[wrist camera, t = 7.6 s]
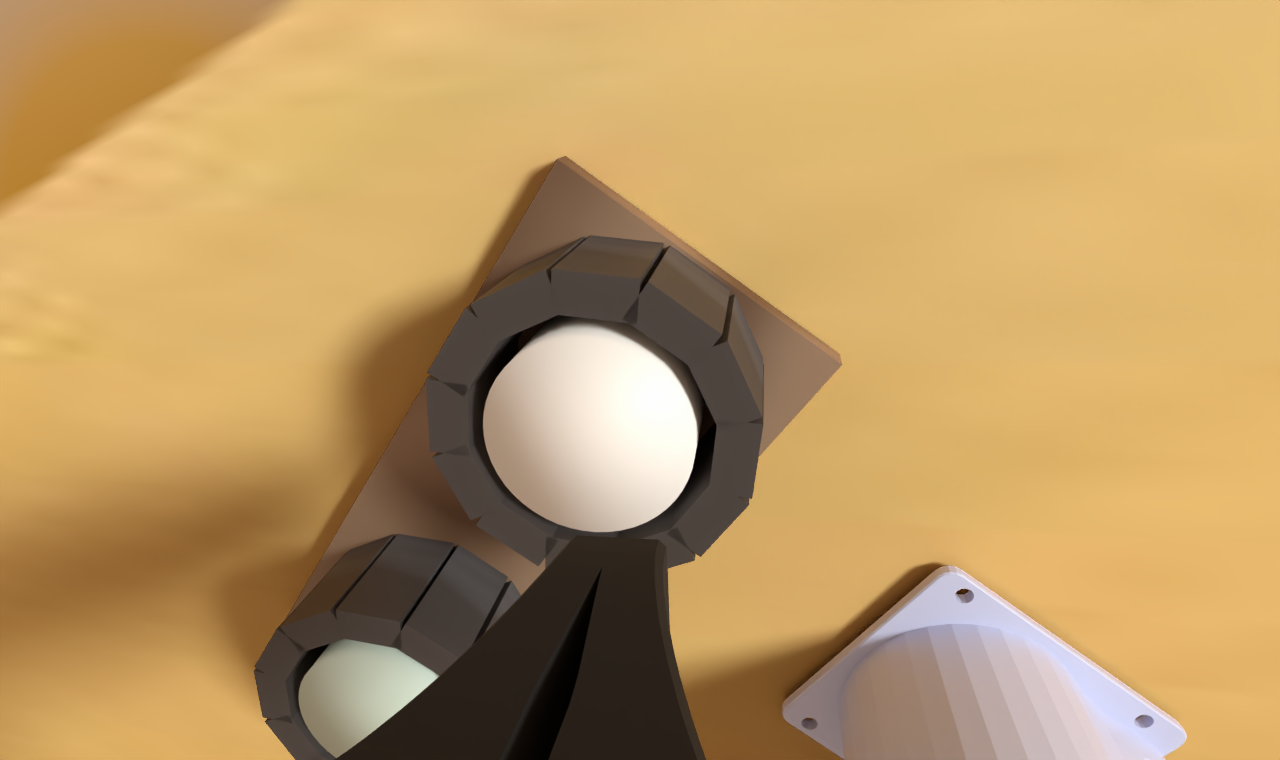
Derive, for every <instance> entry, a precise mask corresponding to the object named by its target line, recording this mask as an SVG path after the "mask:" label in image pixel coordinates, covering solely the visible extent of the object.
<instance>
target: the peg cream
mask: <svg viewBox="0 0 1280 760" xmlns="http://www.w3.org/2000/svg"><path fill="white" fill-rule="evenodd" d="M704 407H705V400H704V398H703V395H702V393H701V391H700V389H699V387H698V385H697V383H696V381H695V379H694V377H693V374H692V372H691V370H690V368H689V366H688V365H687V364H686V363H684V362H683V361H682V360H680V359H679V358H677V357H676V356H675V355H673V354H672V353H670V352H669V351H667V350H666V349H665V348H663V347H662V346H660V345H659V344H657V343H656V342H655V341H653V340H652V339H650V338H649V337H648V336H646V335H645V334H643V333H642V332H640V331H639V330H638V329H636V328H635V327H633V326H632V325H630V324H629V323H621V322H613V321H605V320H596V319H588V318H580V317H571V316H563V315H557V316H555V317H552V318H550V319H549V320H548V321H547V322H546V324H545V325H544V326H543V327H542V328H541V329H540V330H539V331H538V332H537V333H536V334H535V335H534V336H533V337H532V338H531V340H530V341H529V342H528V343H527V344H526V345H525V346H524V347H523V348H522V349H521V350H520V351H519V352H518V353H517V355H516V356H515V357H514V358H513V359H512V360H511V361H510V362H509V363H508V364H507V365H506V366H505V367H504V368H503V370H502V371H501V372H500V374H499V375H498V376H497V378H496V379H495V381H494V383H493V385H492V387H491V389H490V391H489V394H488V397H487V399H486V403H485V408H484V415H483V431H484V440H485V444H486V449H487V452H488V455H489V457H490V460H491V463H492V465H493V466H494V468H495V470H496V472H497V474H498V476H499V477H500V479H501V480H502V481H503V483H504V484H505V486H506V487H507V488H508V489H509V490H510V491H511V493H512V494H513V495H514V496H515V497H516V498H517V499H519V500H520V501H521V502H522V503H523V504H524V505H525V506H527V507H528V508H530V509H531V510H532V511H534V512H535V513H537V514H539V515H540V516H542V517H544V518H546V519H548V520H550V521H552V522H554V523H557V524H559V525H562V526H565V527H568V528H572V529H577V530H581V531H590V532H613V531H621V530H625V529H629V528H633V527H636V526H639V525H641V524H644V523H646V522H648V521H650V520H651V519H653V518H655V517H657V516H658V515H660V514H661V513H662V512H664V511H665V510H666V509H667V508H668V507H669V506H670V505H671V504H672V503H673V502H674V501H675V500H676V499H677V498H678V496H679V495H680V494H681V492H682V491H683V489H684V487H685V485H686V484H687V482H688V480H689V477H690V474H691V471H692V469H693V464H694V459H695V454H696V449H697V443H698V438H699V433H700V428H701V423H702V418H703V413H704Z"/></svg>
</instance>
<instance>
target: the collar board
mask: <svg viewBox="0 0 1280 760" xmlns="http://www.w3.org/2000/svg"><path fill="white" fill-rule="evenodd" d="M557 315H563V316H571V317H580V318H588V319H596V320H605V321H613V322H621V323H629V324H630V325H632V326H633V327H635V328H636V329H638V330H639V331H640V332H642V333H643V334H645V335H646V336H648V337H649V338H650V339H652V340H653V341H655V342H656V343H657V344H659V345H660V346H662V347H663V348H665V349H666V350H667V351H669V352H670V353H672V354H673V355H675V356H676V357H677V358H679V359H680V360H682V361H683V362H684V363H686V364H687V365H688V366H689V368H690V370H691V372H692V374H693V377H694V379H695V381H696V383H697V385H698V387H699V389H700V391H701V393H702V395H703V398H704V400H705V407H704V413H703V418H702V423H701V428H700V433H699V438H698V443H697V449H696V454H695V459H694V464H693V469H692V471H691V474H690V477H689V480H688V482H687V484H686V485H685V487H684V489H683V491H682V492H681V494H680V495H679V496H678V498H677V499H676V500H675V501H674V502H673V503H672V504H671V505H670V506H669V507H668V508H667V509H666V510H665V511H664V512H662V513H661V514H660V515H658V516H657V517H655V518H653V519H651V520H650V521H648V522H646V523H644V524H641V525H639V526H636V527H633V528H629V529H625V530H621V531H613V532H590V531H581V530H577V529H572V528H568V527H565V526H562V525H559V524H557V523H554V522H552V521H550V520H548V519H546V518H544V517H542V516H540V515H539V514H537V513H535V512H534V511H532V510H531V509H530V508H528V507H527V506H525V505H524V504H523V503H522V502H521V501H520V500H519V499H517V498H516V497H515V496H514V495H513V494H512V493H511V491H510V490H509V489H508V488H507V487H506V486H505V484H504V483H503V481H502V480H501V479H500V477H499V476H498V474H497V472H496V470H495V468H494V466H493V465H492V463H491V460H490V457H489V455H488V452H487V449H486V444H485V440H484V431H483V415H484V408H485V403H486V399H487V397H488V394H489V391H490V389H491V387H492V385H493V383H494V381H495V379H496V378H497V376H498V375H499V374H500V372H501V371H502V370H503V368H504V367H505V366H506V365H507V364H508V363H509V362H510V361H511V360H512V359H513V358H514V357H515V356H516V355H517V353H518V352H519V351H520V350H521V349H522V348H523V347H524V346H525V345H526V344H527V343H528V342H529V341H530V340H531V338H532V337H533V336H534V335H535V334H536V333H537V332H538V331H539V330H540V329H541V328H542V327H543V326H544V325H545V324H546V322H547V321H548V320H549V319H550V318H552V317H555V316H557ZM841 365H842V362H841V358H840V355H839V353H837V352H836V351H835V350H833V349H832V348H830V347H829V346H828V345H826V344H825V343H823V342H822V341H821V340H819V339H818V338H817V337H815V336H814V335H812V334H811V333H810V332H808V331H807V330H805V329H804V328H803V327H801V326H800V325H799V324H797V323H796V322H794V321H793V320H792V319H790V318H789V317H788V316H786V315H785V314H783V313H782V312H781V311H779V310H778V309H776V308H775V307H774V306H772V305H771V304H770V303H768V302H767V301H765V300H764V299H763V298H761V297H760V296H758V295H757V294H756V293H754V292H753V291H752V290H750V289H749V288H747V287H746V286H745V285H743V284H742V283H740V282H739V281H738V280H736V279H735V278H734V277H732V276H731V275H729V274H728V273H727V272H725V271H724V270H722V269H721V268H720V267H718V266H717V265H716V264H714V263H713V262H711V261H710V260H709V259H707V258H706V257H704V256H703V255H702V254H700V253H699V252H698V251H696V250H695V249H693V248H692V247H691V246H689V245H688V244H686V243H685V242H684V241H682V240H681V239H680V238H678V237H677V236H675V235H674V234H673V233H671V232H670V231H668V230H667V229H666V228H664V227H663V226H662V225H660V224H659V223H657V222H656V221H655V220H653V219H652V218H650V217H649V216H648V215H646V214H645V213H644V212H642V211H641V210H639V209H638V208H637V207H635V206H634V205H632V204H631V203H630V202H628V201H627V200H626V199H624V198H623V197H621V196H620V195H619V194H617V193H616V192H614V191H613V190H612V189H610V188H609V187H608V186H606V185H605V184H603V183H602V182H601V181H599V180H598V179H597V178H595V177H594V176H592V175H591V174H590V173H588V172H587V171H585V170H584V169H583V168H581V167H580V166H579V165H577V164H576V163H574V162H573V161H572V160H570V159H569V158H567V157H566V156H565V157H562V158H559V159H557V160H556V162H555V164H554V165H553V167H552V169H551V170H550V172H549V174H548V176H547V177H546V179H545V181H544V182H543V184H542V186H541V187H540V189H539V191H538V193H537V194H536V196H535V198H534V199H533V201H532V203H531V204H530V206H529V208H528V209H527V211H526V213H525V215H524V216H523V218H522V220H521V221H520V223H519V225H518V226H517V228H516V230H515V231H514V233H513V235H512V237H511V238H510V240H509V242H508V243H507V245H506V247H505V248H504V250H503V252H502V253H501V255H500V257H499V259H498V260H497V262H496V264H495V265H494V267H493V269H492V270H491V272H490V274H489V276H488V277H487V279H486V281H485V282H484V284H483V286H482V287H481V289H480V291H479V292H478V294H477V296H476V298H475V299H474V301H473V302H472V303H471V304H470V306H468V307H467V308H466V309H464V311H463V313H462V315H461V316H460V318H459V320H458V321H457V323H456V325H455V326H454V328H453V330H452V332H451V333H450V335H449V337H448V338H447V340H446V342H445V343H444V345H443V347H442V349H441V350H440V352H439V354H438V355H437V357H436V359H435V360H434V362H433V364H432V366H431V367H430V369H429V371H428V372H427V373H429V374H430V375H429V377H428V378H427V379H426V382H425V384H424V386H423V387H422V389H421V391H420V392H419V394H418V396H417V397H416V399H415V401H414V403H413V404H412V406H411V408H410V409H409V411H408V413H407V414H406V416H405V418H404V419H403V421H402V423H401V425H400V426H399V428H398V430H397V431H396V433H395V435H394V436H393V438H392V440H391V441H390V443H389V445H388V447H387V448H386V450H385V452H384V453H383V455H382V457H381V458H380V460H379V462H378V463H377V465H376V467H375V469H374V470H373V472H372V474H371V475H370V477H369V479H368V480H367V482H366V484H365V486H364V487H363V489H362V491H361V492H360V494H359V496H358V497H357V499H356V501H355V502H354V504H353V506H352V508H351V509H350V511H349V513H348V514H347V516H346V518H345V519H344V521H343V523H342V524H341V526H340V528H339V530H338V531H337V533H336V535H335V536H334V538H333V540H332V541H331V543H330V545H329V546H328V548H327V550H326V552H325V553H324V555H323V557H322V558H321V560H320V562H319V563H318V565H317V567H316V568H315V570H314V572H313V574H312V575H311V577H310V579H309V580H308V582H307V584H306V585H305V587H304V589H303V591H302V592H301V594H300V596H299V597H298V599H297V601H296V602H295V604H294V606H293V607H292V609H291V611H290V613H289V614H288V616H287V618H286V619H285V621H284V622H283V623H282V624H281V625H280V626H279V627H278V628H277V629H276V631H275V633H274V634H273V636H272V638H271V640H270V641H269V643H268V645H267V646H266V648H265V650H264V652H263V653H262V655H261V657H260V658H259V660H258V662H257V663H256V665H255V667H256V669H255V670H254V674H255V679H256V685H257V690H258V695H259V700H260V705H261V711H262V716H263V717H264V718H267V720H266V721H265V722H266V724H267V725H268V726H269V727H270V729H271V730H272V731H273V732H274V734H275V735H276V736H277V737H278V739H279V740H280V741H281V742H282V744H283V745H284V746H285V747H286V749H287V750H288V751H289V752H290V754H291V755H292V756H293V757H294V759H295V760H335V759H336V758H335V757H334V756H333V755H332V754H330V753H329V752H328V751H327V750H326V749H325V748H324V747H323V746H322V745H321V744H320V743H319V742H318V741H317V740H316V739H315V737H314V736H313V735H312V733H311V732H310V730H309V729H308V727H307V725H306V723H305V722H304V719H303V717H302V714H301V711H300V707H299V688H300V685H301V682H302V680H303V678H304V676H305V675H306V673H307V672H308V671H309V670H310V668H311V667H312V666H313V665H314V663H315V662H316V661H317V659H318V658H319V657H320V656H321V654H322V653H323V652H324V650H325V649H326V648H327V647H328V645H329V644H330V643H333V642H336V641H339V640H343V639H348V640H354V641H359V642H364V643H370V644H375V645H381V646H386V647H391V648H396V649H398V650H400V651H401V652H403V653H404V654H406V655H407V656H409V657H411V658H412V659H414V660H415V661H417V662H419V663H420V664H422V665H423V666H425V667H426V668H428V669H430V670H431V671H433V672H434V673H436V674H438V675H439V676H440V675H441V674H442V673H443V672H444V671H445V670H446V669H447V668H449V667H450V666H451V665H452V664H453V663H454V662H455V661H456V660H457V659H458V658H459V657H460V656H461V655H462V654H463V653H465V652H466V651H467V650H468V649H469V648H470V647H471V646H472V645H473V644H474V643H475V642H476V641H477V640H478V639H479V638H480V637H481V636H482V635H483V634H484V633H485V632H486V631H487V630H488V629H489V628H490V627H491V626H492V625H493V624H494V623H495V622H496V621H497V620H498V619H499V618H500V617H501V616H502V615H503V614H504V613H505V612H506V611H507V610H508V609H509V608H510V607H511V606H512V605H513V603H514V602H515V601H516V600H517V599H518V598H519V597H520V596H521V595H522V594H523V593H524V592H525V591H526V590H527V589H528V587H529V586H530V585H531V584H532V583H533V582H534V581H535V580H536V579H537V578H538V576H539V575H540V574H541V573H542V572H543V571H544V570H545V569H546V567H547V566H548V565H549V564H550V563H551V562H552V561H553V560H554V558H555V557H556V556H557V555H558V554H559V553H560V552H561V550H562V549H563V548H564V547H565V546H566V545H567V544H568V543H569V541H571V540H572V539H573V538H574V537H575V536H576V535H579V536H598V537H617V538H637V539H656V540H660V541H661V542H662V543H663V544H664V545H665V546H666V547H667V568H671V567H674V566H677V565H681V564H684V563H688V562H691V561H694V560H695V554H697V555H698V556H700V557H701V556H702V555H703V554H704V553H705V551H706V550H707V549H708V548H709V547H710V546H711V545H712V544H713V543H714V542H715V541H716V540H717V539H718V538H719V536H720V535H721V534H722V533H723V532H724V531H725V530H726V529H727V528H728V527H729V526H730V525H731V524H732V523H733V521H734V520H735V519H736V518H737V517H738V516H739V515H740V514H741V513H742V512H743V511H744V510H745V509H746V507H747V506H748V505H749V498H751V499H752V495H753V489H754V482H755V476H756V469H757V463H758V457H759V456H760V455H761V454H762V453H763V452H764V451H765V449H766V448H767V447H768V446H769V445H770V444H771V443H772V442H773V441H774V439H775V438H776V437H777V436H778V435H779V434H780V433H781V432H782V431H783V429H784V428H785V427H786V426H787V425H788V424H789V423H790V422H791V421H792V420H793V418H794V417H795V416H796V415H797V414H798V413H799V412H800V411H801V410H802V408H803V407H804V406H805V405H806V404H807V403H808V402H809V401H810V400H811V398H812V397H813V396H814V395H815V394H816V393H817V392H818V391H819V390H820V389H821V387H822V386H823V385H824V384H825V383H826V382H827V381H828V380H829V379H830V377H831V376H832V375H833V374H834V373H835V372H836V371H837V370H838V369H839V367H840V366H841Z"/></svg>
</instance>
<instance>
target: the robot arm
mask: <svg viewBox="0 0 1280 760" xmlns="http://www.w3.org/2000/svg"><path fill="white" fill-rule="evenodd" d="M960 589H969V591H968V592H967V593H965V594H960V595H959V594H956V592H957V591H958V590H960ZM782 715H783V718H784V719H785V720H786V721H787V722H788V723H789V724H791V725H792V726H794V727H795V728H797V729H798V730H800V731H801V732H803V733H804V734H806V735H807V736H809V737H811V738H812V739H814V740H815V741H817V742H818V743H820V744H821V745H823V746H824V747H826V748H827V749H829V750H830V751H832V752H833V753H835V754H836V755H838V756H839V757H841V758H842V759H844V760H1165V758H1164V756H1165V755H1167V754H1169V753H1170V752H1172V751H1174V750H1175V749H1177V748H1178V747H1180V746H1181V745H1182V744H1183V743H1184V742H1185V740H1186V738H1187V736H1186V732H1185V731H1184V729H1183V728H1182V726H1181V725H1180V723H1179V722H1178V721H1177V720H1175V719H1174V718H1172V717H1171V716H1170V715H1168V714H1167V713H1165V712H1164V711H1162V710H1161V709H1160V708H1158V707H1157V706H1155V705H1154V704H1153V703H1151V702H1150V701H1148V700H1147V699H1145V698H1144V697H1143V696H1141V695H1140V694H1138V693H1137V692H1135V691H1134V690H1133V689H1131V688H1130V687H1128V686H1127V685H1125V684H1124V683H1123V682H1121V681H1120V680H1118V679H1117V678H1115V677H1114V676H1113V675H1111V674H1110V673H1108V672H1107V671H1106V670H1104V669H1103V668H1101V667H1100V666H1098V665H1097V664H1096V663H1094V662H1093V661H1091V660H1090V659H1088V658H1087V657H1086V656H1084V655H1083V654H1081V653H1080V652H1078V651H1077V650H1076V649H1074V648H1073V647H1071V646H1070V645H1068V644H1067V643H1066V642H1064V641H1063V640H1061V639H1060V638H1058V637H1057V636H1056V635H1054V634H1053V633H1051V632H1050V631H1049V630H1047V629H1046V628H1044V627H1043V626H1041V625H1040V624H1039V623H1037V622H1036V621H1034V620H1033V619H1031V618H1030V617H1029V616H1027V615H1026V614H1024V613H1023V612H1021V611H1020V610H1019V609H1017V608H1016V607H1014V606H1013V605H1011V604H1010V603H1009V602H1007V601H1006V600H1004V599H1003V598H1001V597H1000V596H999V595H997V594H996V593H994V592H993V591H992V590H990V589H989V588H987V587H986V586H984V585H983V584H982V583H980V582H979V581H977V580H976V579H974V578H973V577H972V576H970V575H969V574H967V573H966V572H964V571H963V570H962V569H960V568H958V567H956V566H949V565H947V566H942V567H940V568H938V569H936V570H935V571H934V572H932V573H931V574H930V575H929V576H928V577H927V578H925V579H924V580H923V581H922V582H921V583H920V584H918V585H917V586H916V587H915V588H914V589H913V590H912V591H910V592H909V593H908V594H907V595H906V596H905V597H903V598H902V599H901V600H900V601H899V602H898V603H896V604H895V605H894V606H893V607H892V608H891V609H890V610H888V611H887V612H886V613H885V614H884V615H883V616H881V617H880V618H879V619H878V620H877V621H876V622H875V623H873V624H872V625H871V626H870V627H869V628H868V629H866V630H865V631H864V632H863V633H862V634H861V635H859V636H858V637H857V638H856V639H855V640H854V641H853V642H851V643H850V644H849V645H848V646H847V647H846V648H844V649H843V650H842V651H841V652H840V653H839V654H837V655H836V656H835V657H834V658H833V659H832V660H831V661H829V662H828V663H827V664H826V665H825V666H824V667H822V668H821V669H820V670H819V671H818V672H817V673H815V674H814V675H813V676H812V677H811V678H810V679H809V680H807V681H806V682H805V683H804V684H803V685H802V686H800V687H799V688H798V689H797V690H796V691H795V692H793V693H792V694H791V695H790V696H789V697H788V698H787V699H785V701H784V702H783V704H782ZM1141 715H1144V716H1142V717H1138V716H1141ZM805 718H813V719H812V720H807V719H805ZM335 760H706V758H705V755H704V753H703V750H702V747H701V744H700V741H699V738H698V735H697V732H696V729H695V726H694V723H693V720H692V717H691V714H690V710H689V707H688V704H687V700H686V697H685V693H684V689H683V686H682V682H681V679H680V675H679V671H678V667H677V663H676V659H675V655H674V650H673V645H672V640H671V635H670V625H669V597H668V569H667V547H666V546H665V545H664V544H663V543H662V542H661V541H660V540H656V539H637V538H617V537H598V536H579V535H576V536H575V537H574V538H573V539H572V540H571V541H569V543H568V544H567V545H566V546H565V547H564V548H563V549H562V550H561V552H560V553H559V554H558V555H557V556H556V557H555V558H554V560H553V561H552V562H551V563H550V564H549V565H548V566H547V567H546V569H545V570H544V571H543V572H542V573H541V574H540V575H539V576H538V578H537V579H536V580H535V581H534V582H533V583H532V584H531V585H530V586H529V587H528V589H527V590H526V591H525V592H524V593H523V594H522V595H521V596H520V597H519V598H518V599H517V600H516V601H515V602H514V603H513V605H512V606H511V607H510V608H509V609H508V610H507V611H506V612H505V613H504V614H503V615H502V616H501V617H500V618H499V619H498V620H497V621H496V622H495V623H494V624H493V625H492V626H491V627H490V628H489V629H488V630H487V631H486V632H485V633H484V634H483V635H482V636H481V637H480V638H479V639H478V640H477V641H476V642H475V643H474V644H473V645H472V646H471V647H470V648H469V649H468V650H467V651H466V652H465V653H463V654H462V655H461V656H460V657H459V658H458V659H457V660H456V661H455V662H454V663H453V664H452V665H451V666H450V667H449V668H447V669H446V670H445V671H444V672H443V673H442V674H441V675H440V676H439V677H438V678H437V679H436V680H434V681H433V682H432V683H431V684H430V685H429V686H428V687H426V688H425V689H424V690H423V691H422V692H421V693H420V694H418V695H417V696H416V697H415V698H414V699H413V700H411V701H410V702H409V703H408V704H407V705H405V706H404V707H403V708H402V709H401V710H399V711H398V712H397V713H396V714H394V715H393V716H392V717H391V718H389V719H388V720H387V721H386V722H384V723H383V724H382V725H381V726H379V727H378V728H377V729H376V730H374V731H373V732H372V733H371V734H369V735H368V736H367V737H365V738H364V739H363V740H361V741H360V742H359V743H357V744H356V745H354V746H353V747H352V748H350V749H349V750H347V751H346V752H345V753H343V754H342V755H340V756H339V757H337V758H336V759H335Z"/></svg>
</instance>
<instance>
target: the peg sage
mask: <svg viewBox="0 0 1280 760" xmlns="http://www.w3.org/2000/svg"><path fill="white" fill-rule="evenodd" d="M438 677H439V675H438V674H436V673H434V672H433V671H431V670H430V669H428V668H426V667H425V666H423V665H422V664H420V663H419V662H417V661H415V660H414V659H412V658H411V657H409V656H407V655H406V654H404V653H403V652H401V651H400V650H398V649H396V648H391V647H386V646H381V645H375V644H370V643H364V642H359V641H354V640H348V639H343V640H339V641H336V642H333V643H330V644H329V645H328V647H327V648H326V649H325V650H324V652H323V653H322V654H321V656H320V657H319V658H318V659H317V661H316V662H315V663H314V665H313V666H312V667H311V668H310V670H309V671H308V672H307V673H306V675H305V676H304V678H303V680H302V682H301V685H300V688H299V707H300V711H301V714H302V717H303V719H304V722H305V723H306V725H307V727H308V729H309V730H310V732H311V733H312V735H313V736H314V737H315V739H316V740H317V741H318V742H319V743H320V744H321V745H322V746H323V747H324V748H325V749H326V750H327V751H328V752H329V753H330V754H332V755H333V756H334V757H335V758H337V757H339V756H340V755H342V754H343V753H345V752H346V751H347V750H349V749H350V748H352V747H353V746H354V745H356V744H357V743H359V742H360V741H361V740H363V739H364V738H365V737H367V736H368V735H369V734H371V733H372V732H373V731H374V730H376V729H377V728H378V727H379V726H381V725H382V724H383V723H384V722H386V721H387V720H388V719H389V718H391V717H392V716H393V715H394V714H396V713H397V712H398V711H399V710H401V709H402V708H403V707H404V706H405V705H407V704H408V703H409V702H410V701H411V700H413V699H414V698H415V697H416V696H417V695H418V694H420V693H421V692H422V691H423V690H424V689H425V688H426V687H428V686H429V685H430V684H431V683H432V682H433V681H434V680H436V679H437V678H438Z"/></svg>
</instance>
